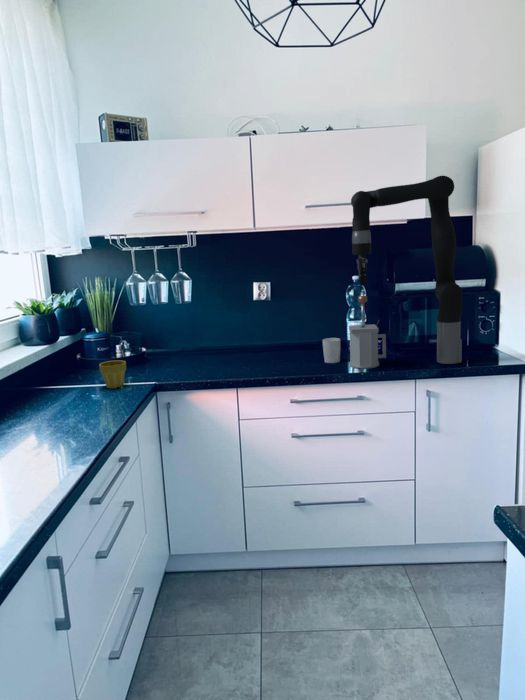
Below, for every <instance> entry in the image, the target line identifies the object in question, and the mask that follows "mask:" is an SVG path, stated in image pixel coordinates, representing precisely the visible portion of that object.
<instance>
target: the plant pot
mask: <svg viewBox="0 0 525 700" xmlns="http://www.w3.org/2000/svg"><path fill="white" fill-rule="evenodd" d="M98 366H99V367H98V369H99V373H100V374H102V378H103V380H104V383H105V386H106V388H107V389H118V388H117V387H119V388H121V387H120V386H122V385H123V386H124V383H125V374H126V371H127V362H126V360H120V359H119V360H118V359H116V360H108V361H104V362H100V363H99V365H98ZM123 386H122V387H123Z"/></svg>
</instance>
